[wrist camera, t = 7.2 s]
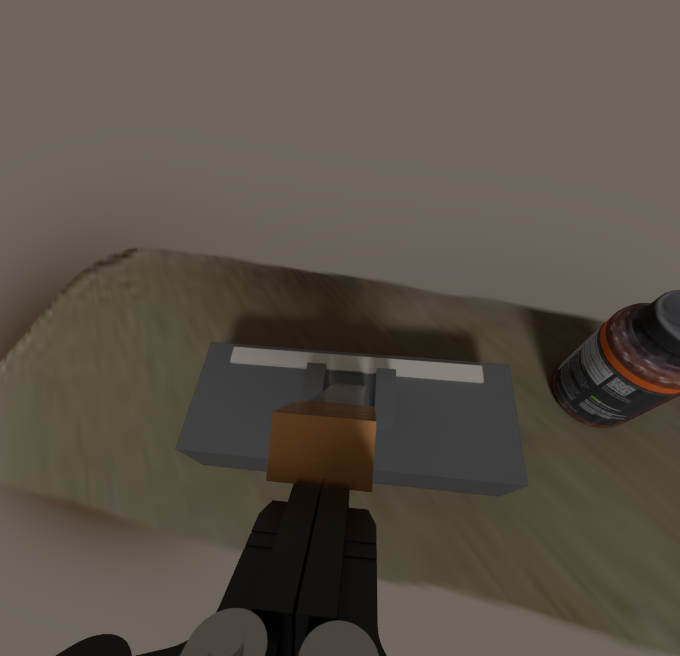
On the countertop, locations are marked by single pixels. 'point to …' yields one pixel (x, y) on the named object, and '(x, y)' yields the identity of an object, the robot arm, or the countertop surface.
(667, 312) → the supplement bottle
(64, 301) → the countertop surface
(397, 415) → the block
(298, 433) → the lever
